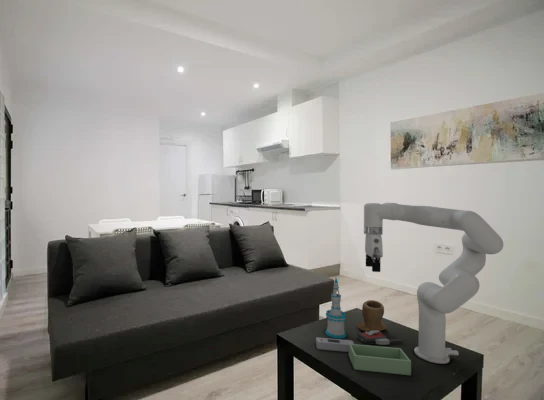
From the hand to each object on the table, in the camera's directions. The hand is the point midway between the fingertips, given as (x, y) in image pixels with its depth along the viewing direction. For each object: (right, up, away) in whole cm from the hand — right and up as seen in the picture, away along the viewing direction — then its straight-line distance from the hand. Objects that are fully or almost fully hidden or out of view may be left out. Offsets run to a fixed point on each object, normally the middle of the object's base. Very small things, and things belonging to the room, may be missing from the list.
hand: (372, 268), depth 132 cm
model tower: (-10, -37, +17) cm, 42 cm away
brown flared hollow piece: (+11, -37, +21) cm, 44 cm away
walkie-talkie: (+8, -37, +9) cm, 39 cm away
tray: (-3, -37, -11) cm, 39 cm away
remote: (-16, -37, +2) cm, 40 cm away
